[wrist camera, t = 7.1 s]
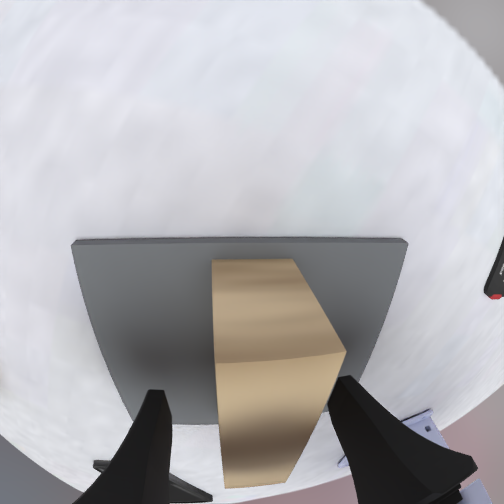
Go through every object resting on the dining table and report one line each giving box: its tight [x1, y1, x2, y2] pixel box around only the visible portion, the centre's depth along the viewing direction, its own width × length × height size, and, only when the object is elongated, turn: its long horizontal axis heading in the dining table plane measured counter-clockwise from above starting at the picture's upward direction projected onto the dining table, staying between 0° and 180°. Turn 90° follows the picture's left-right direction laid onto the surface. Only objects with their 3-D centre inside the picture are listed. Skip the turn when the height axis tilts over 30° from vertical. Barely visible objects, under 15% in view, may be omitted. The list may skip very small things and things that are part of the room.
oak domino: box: [212, 259, 347, 489], centre depth 10 cm, size 10×3×5 cm, turn 177°
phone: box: [93, 460, 213, 503], centre depth 21 cm, size 8×1×15 cm
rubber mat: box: [71, 238, 408, 425], centre depth 13 cm, size 14×12×1 cm
